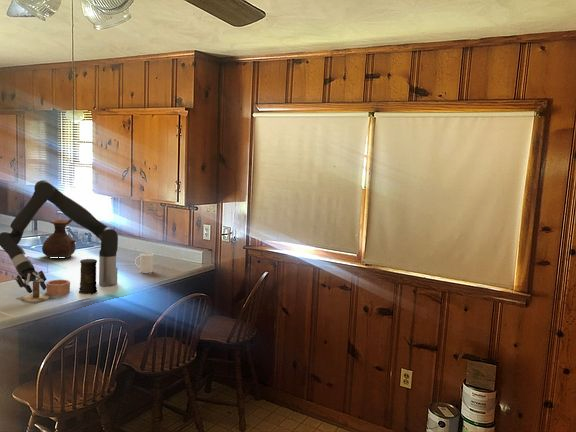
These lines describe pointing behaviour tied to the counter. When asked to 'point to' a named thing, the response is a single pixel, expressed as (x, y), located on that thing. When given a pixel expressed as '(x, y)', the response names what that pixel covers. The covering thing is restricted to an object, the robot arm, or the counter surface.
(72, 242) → the brown vase
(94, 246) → the counter surface
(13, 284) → the counter surface
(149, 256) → the mug
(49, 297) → the mat
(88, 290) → the container
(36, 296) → the lid
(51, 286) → the bowl
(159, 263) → the counter surface
